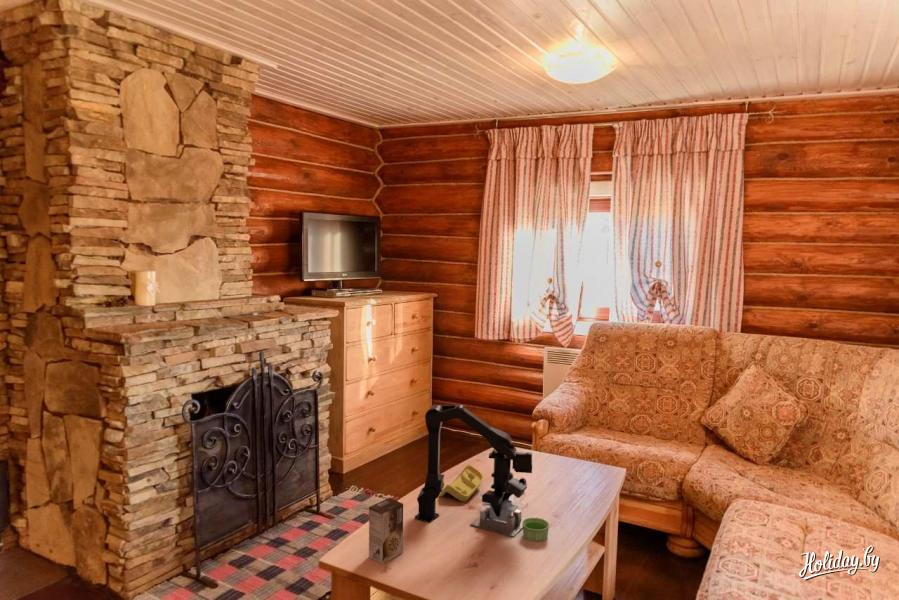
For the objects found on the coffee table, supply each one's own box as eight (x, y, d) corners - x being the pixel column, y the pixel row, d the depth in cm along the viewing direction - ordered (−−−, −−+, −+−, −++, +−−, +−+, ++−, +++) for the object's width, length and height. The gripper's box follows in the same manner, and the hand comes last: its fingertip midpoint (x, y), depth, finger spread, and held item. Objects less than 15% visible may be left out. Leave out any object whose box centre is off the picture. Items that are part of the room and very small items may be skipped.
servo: (512, 523, 208) (513, 504, 207) (483, 516, 213) (484, 497, 212) (517, 519, 211) (518, 500, 210) (488, 511, 216) (489, 493, 216)
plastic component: (466, 498, 227) (445, 482, 230) (459, 512, 230) (437, 497, 233) (487, 476, 245) (466, 461, 248) (479, 490, 247) (459, 475, 250)
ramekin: (552, 534, 205) (553, 521, 205) (542, 545, 198) (543, 532, 197) (528, 527, 210) (528, 515, 209) (517, 538, 202) (517, 525, 202)
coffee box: (388, 546, 195) (389, 497, 193) (403, 553, 191) (404, 502, 189) (367, 557, 188) (368, 506, 186) (382, 564, 184) (383, 512, 182)
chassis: (513, 537, 202) (513, 524, 202) (470, 525, 210) (470, 512, 210) (529, 521, 214) (530, 508, 214) (488, 510, 222) (488, 498, 222)
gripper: (512, 484, 198) (510, 531, 200) (534, 467, 215) (532, 509, 216) (481, 477, 204) (480, 522, 205) (505, 460, 220) (503, 502, 222)
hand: (500, 514), depth 212 cm, fingers closed on servo, 4 cm apart
